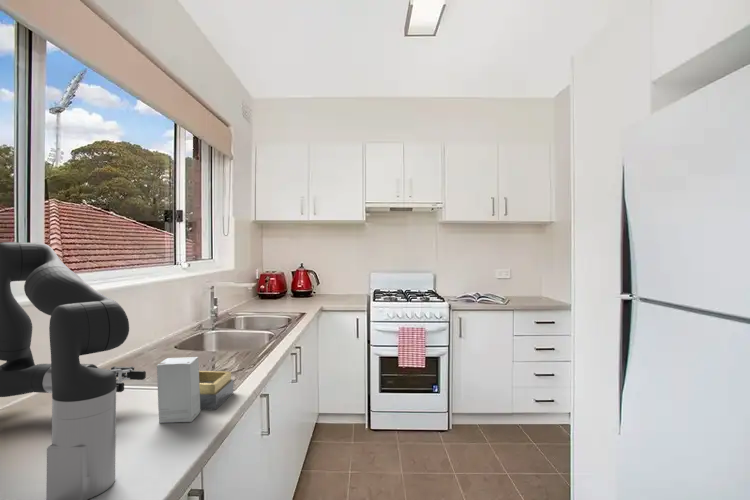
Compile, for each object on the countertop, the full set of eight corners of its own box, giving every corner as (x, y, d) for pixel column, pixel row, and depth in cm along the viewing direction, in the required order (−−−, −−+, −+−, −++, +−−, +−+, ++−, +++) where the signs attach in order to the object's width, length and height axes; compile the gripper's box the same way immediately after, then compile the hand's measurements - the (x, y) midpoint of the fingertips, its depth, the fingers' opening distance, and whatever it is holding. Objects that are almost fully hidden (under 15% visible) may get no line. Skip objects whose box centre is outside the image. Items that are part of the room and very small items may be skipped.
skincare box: (200, 413, 102) (201, 356, 102) (191, 423, 96) (191, 363, 95) (167, 413, 101) (168, 356, 101) (155, 424, 95) (156, 363, 95)
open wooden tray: (215, 409, 104) (216, 385, 104) (163, 408, 104) (164, 384, 104) (237, 389, 119) (237, 367, 119) (191, 388, 119) (191, 366, 119)
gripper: (47, 373, 92) (115, 375, 92) (92, 356, 106) (151, 358, 106) (47, 405, 92) (115, 407, 92) (92, 383, 106) (151, 385, 106)
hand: (134, 381), depth 99 cm, fingers open, 8 cm apart
